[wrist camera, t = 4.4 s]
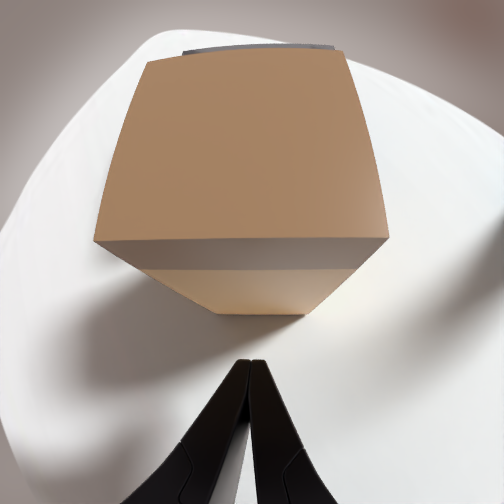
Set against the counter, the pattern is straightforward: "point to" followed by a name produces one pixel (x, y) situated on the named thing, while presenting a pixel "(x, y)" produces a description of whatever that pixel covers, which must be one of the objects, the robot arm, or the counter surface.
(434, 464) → the counter surface
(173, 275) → the tan cardboard box
